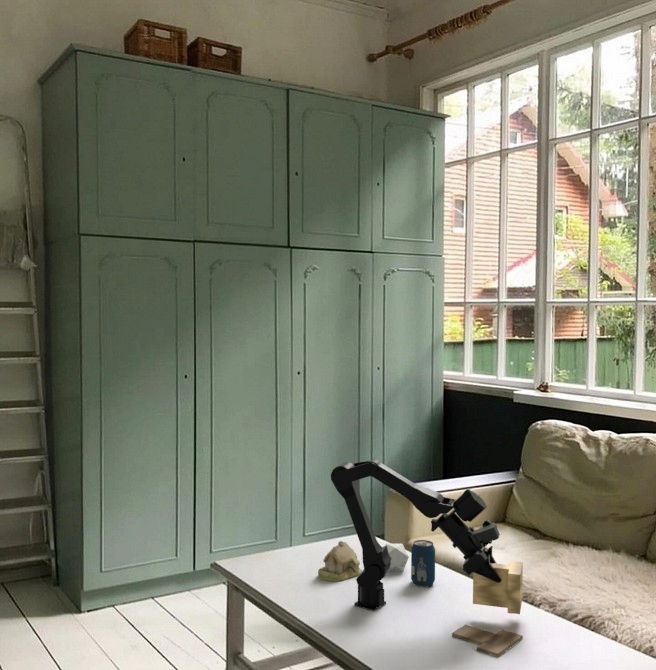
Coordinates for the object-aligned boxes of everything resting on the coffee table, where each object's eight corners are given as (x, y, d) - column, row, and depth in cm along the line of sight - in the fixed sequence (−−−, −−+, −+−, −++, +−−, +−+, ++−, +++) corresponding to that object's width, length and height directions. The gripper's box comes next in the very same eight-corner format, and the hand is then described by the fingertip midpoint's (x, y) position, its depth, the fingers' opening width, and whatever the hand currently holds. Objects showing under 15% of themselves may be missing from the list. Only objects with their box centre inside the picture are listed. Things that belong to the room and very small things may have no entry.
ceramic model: (337, 564, 242) (338, 533, 242) (368, 571, 236) (368, 539, 235) (311, 577, 231) (311, 544, 230) (342, 585, 224) (343, 551, 224)
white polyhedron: (400, 578, 231) (416, 550, 234) (375, 563, 233) (391, 535, 235) (397, 579, 239) (412, 551, 242) (373, 564, 240) (389, 537, 243)
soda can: (428, 578, 230) (428, 538, 229) (439, 586, 223) (439, 545, 223) (407, 580, 228) (407, 540, 227) (417, 588, 221) (417, 547, 221)
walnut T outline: (445, 640, 187) (445, 637, 187) (471, 623, 197) (471, 620, 197) (498, 657, 178) (498, 653, 178) (522, 638, 188) (522, 635, 188)
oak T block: (471, 608, 196) (471, 569, 196) (475, 594, 205) (476, 557, 205) (519, 614, 192) (520, 574, 192) (522, 599, 202) (522, 562, 202)
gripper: (476, 522, 190) (522, 571, 188) (484, 504, 208) (526, 548, 205) (444, 550, 193) (488, 599, 190) (455, 530, 211) (495, 574, 208)
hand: (501, 579), depth 198 cm, fingers closed on oak T block, 4 cm apart
